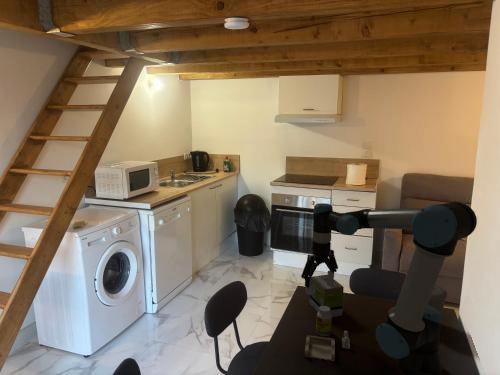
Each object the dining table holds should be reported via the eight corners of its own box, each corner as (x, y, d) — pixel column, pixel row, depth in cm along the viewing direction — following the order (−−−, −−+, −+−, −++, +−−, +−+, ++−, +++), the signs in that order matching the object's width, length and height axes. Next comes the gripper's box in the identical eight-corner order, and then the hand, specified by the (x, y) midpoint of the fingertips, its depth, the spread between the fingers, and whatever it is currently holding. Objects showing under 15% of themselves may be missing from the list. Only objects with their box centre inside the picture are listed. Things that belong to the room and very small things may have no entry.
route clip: (349, 340, 153) (349, 331, 153) (349, 349, 147) (350, 339, 146) (341, 339, 154) (342, 330, 153) (342, 347, 148) (342, 338, 147)
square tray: (306, 340, 152) (306, 335, 152) (334, 344, 150) (334, 338, 149) (304, 356, 141) (304, 350, 141) (334, 361, 139) (334, 354, 139)
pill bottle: (313, 334, 157) (315, 309, 155) (318, 327, 163) (319, 303, 161) (328, 338, 154) (329, 313, 153) (332, 331, 160) (333, 307, 158)
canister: (402, 332, 160) (407, 285, 157) (396, 312, 178) (400, 269, 174) (448, 338, 156) (454, 290, 153) (438, 317, 173) (442, 274, 170)
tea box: (308, 304, 184) (309, 275, 181) (326, 301, 187) (328, 273, 184) (323, 319, 170) (325, 288, 167) (342, 316, 173) (344, 286, 170)
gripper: (334, 234, 165) (331, 280, 168) (293, 244, 149) (291, 294, 153) (348, 238, 159) (345, 285, 162) (307, 248, 144) (305, 301, 147)
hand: (319, 289), depth 157 cm, fingers open, 13 cm apart
